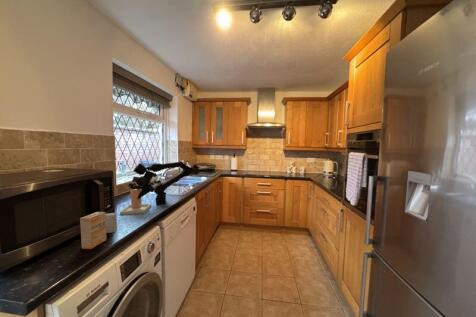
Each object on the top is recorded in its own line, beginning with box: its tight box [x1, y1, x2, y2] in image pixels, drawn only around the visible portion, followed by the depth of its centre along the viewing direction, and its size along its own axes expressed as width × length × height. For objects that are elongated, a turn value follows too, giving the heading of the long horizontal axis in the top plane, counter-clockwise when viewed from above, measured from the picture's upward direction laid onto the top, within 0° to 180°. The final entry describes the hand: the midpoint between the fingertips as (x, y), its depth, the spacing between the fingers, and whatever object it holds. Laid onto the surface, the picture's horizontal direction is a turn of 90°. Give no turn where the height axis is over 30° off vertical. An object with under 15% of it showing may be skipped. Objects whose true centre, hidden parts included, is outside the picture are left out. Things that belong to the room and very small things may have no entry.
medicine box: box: [105, 212, 118, 234], centre depth 99 cm, size 8×4×9 cm, turn 108°
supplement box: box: [79, 211, 107, 250], centre depth 86 cm, size 8×5×13 cm, turn 172°
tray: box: [119, 203, 152, 216], centre depth 132 cm, size 15×15×2 cm
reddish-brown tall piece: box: [130, 188, 143, 209], centre depth 131 cm, size 6×6×12 cm
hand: (134, 198), depth 130 cm, fingers closed on reddish-brown tall piece, 6 cm apart
